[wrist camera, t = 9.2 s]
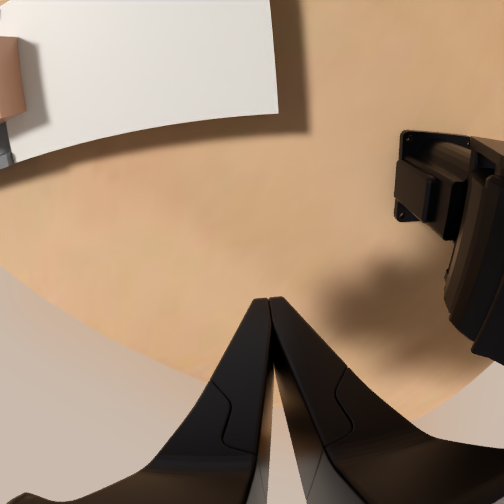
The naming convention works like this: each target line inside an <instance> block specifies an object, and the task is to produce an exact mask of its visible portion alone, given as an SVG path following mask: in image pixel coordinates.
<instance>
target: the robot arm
mask: <svg viewBox="0 0 504 504" xmlns="http://www.w3.org/2000/svg"><path fill="white" fill-rule="evenodd" d="M407 135H409V137H410V138H409V140H408V141H406V136H407ZM468 141H469V144H468V145H467V142H468ZM394 197H395V198H396V199H395V208H394V217H395V218H396V219H397V220H398V221H399V222H410V221H421V222H422V223H426V224H427V225H429V226H430V227H431V228H432V229H433V230H434V231H435V232H436V233H437V234H438V235H439V236H440V237H441V238H442V239H443V240H445V241H448V240H450V241H451V242H453V243H454V244H455V245H454V249H453V253H452V257H451V260H450V264H449V268H448V269H447V270H446V273H445V276H444V279H445V282H446V284H445V287H444V301H445V303H446V306H447V308H448V310H449V312H450V315H449V320H450V322H451V323H452V324H453V325H454V326H455V328H456V329H457V330H458V331H459V332H460V333H461V334H463V335H464V336H465V337H466V338H467V339H469V340H471V341H472V342H474V344H473V346H472V348H471V352H472V353H473V354H477V355H480V356H484V357H488V358H490V359H492V360H494V361H496V362H498V363H500V364H502V365H504V141H499V140H493V139H487V138H480V137H474V136H471V137H469V136H466V135H458V134H449V133H439V132H428V131H415V130H404V131H402V133H401V134H400V147H399V160H398V161H397V164H396V178H395V190H394ZM402 212H403V214H402V216H400V217H399V215H400V213H402ZM274 369H275V375H276V379H277V383H278V388H279V392H280V396H281V400H282V404H283V408H284V412H285V416H286V420H287V425H288V429H289V432H290V437H291V441H292V445H293V449H294V453H295V457H296V461H297V465H298V469H299V473H300V478H301V482H302V486H303V489H304V493H305V498H306V500H307V504H504V449H499V448H490V447H483V446H477V445H471V444H465V443H459V442H453V441H448V440H443V439H439V438H435V437H433V436H430V435H428V434H426V433H425V432H423V431H421V430H420V429H418V428H417V427H416V426H414V425H413V424H412V423H411V422H409V421H408V420H407V419H406V418H404V417H403V416H402V415H401V414H399V413H398V412H397V411H396V410H394V409H393V408H392V407H391V406H389V405H388V404H387V403H386V402H385V401H383V400H382V399H381V398H380V397H379V396H377V395H376V394H375V393H374V392H373V391H372V390H371V389H369V388H368V387H367V386H366V385H365V384H364V383H363V382H362V381H361V380H360V379H359V378H358V377H357V376H356V375H355V373H354V372H353V371H352V370H351V369H350V368H347V365H346V364H345V363H344V362H343V361H342V360H341V359H340V357H339V356H338V355H337V354H336V353H335V352H334V351H333V350H332V349H331V348H330V347H329V346H328V345H327V343H326V342H325V341H324V340H323V339H322V338H321V337H320V336H319V335H318V334H317V333H316V332H315V331H314V329H313V328H312V327H311V326H310V325H309V324H308V323H307V322H306V321H305V320H304V319H303V318H302V317H301V315H300V314H299V313H298V312H297V311H296V310H295V309H294V308H293V307H292V306H291V305H290V304H289V302H288V301H287V300H286V299H285V298H284V297H282V296H279V297H270V298H269V301H268V299H267V298H256V299H254V300H253V301H252V303H251V305H250V306H249V308H248V310H247V312H246V314H245V316H244V318H243V320H242V321H241V323H240V325H239V327H238V329H237V331H236V333H235V334H234V336H233V338H232V340H231V342H230V344H229V346H228V347H227V349H226V351H225V353H224V355H223V357H222V358H221V360H220V362H219V364H218V366H217V367H216V369H215V371H214V373H213V375H212V377H211V378H210V381H209V382H208V384H207V385H206V387H205V389H204V391H203V393H202V394H201V396H200V398H199V399H198V401H197V402H196V404H195V406H194V407H193V409H192V410H191V411H190V413H189V414H188V416H187V417H186V418H185V420H184V421H183V422H182V424H181V425H180V426H179V427H178V429H177V430H176V431H175V433H174V434H173V435H172V436H171V438H170V439H169V440H168V442H167V443H166V444H165V445H164V447H163V448H162V449H161V450H160V451H159V453H158V454H157V455H156V456H155V458H154V459H153V460H152V461H151V462H150V463H149V464H148V465H147V466H145V467H144V468H143V469H141V470H140V471H138V472H137V473H135V474H133V475H131V476H129V477H127V478H125V479H123V480H120V481H118V482H116V483H114V484H112V485H110V486H107V487H105V488H103V489H101V490H99V491H96V492H94V493H92V494H89V495H87V496H84V497H82V498H79V499H76V500H73V501H66V502H55V501H51V500H47V499H44V498H42V497H40V496H37V495H34V494H31V493H23V494H21V495H19V496H17V497H15V498H13V499H12V500H10V501H9V502H8V503H7V504H267V491H268V476H269V461H270V445H271V427H272V408H273V387H274Z"/></svg>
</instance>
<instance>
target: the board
mask: <svg viewBox="0 0 504 504" xmlns="http://www.w3.org/2000/svg"><path fill="white" fill-rule="evenodd" d="M0 36H9V37H17V39H18V52H19V62H20V71H21V79H22V86H23V93H24V99H25V105H26V110H27V111H25V112H23V113H21V114H19V115H17V116H15V117H13V118H11V119H9V120H7V121H6V126H7V131H8V137H9V142H10V146H11V151H12V156H13V160H14V163H17V162H20V161H23V160H26V159H29V158H32V157H35V156H39V155H42V154H45V153H48V152H52V151H55V150H58V149H62V148H66V147H69V146H73V145H77V144H80V143H84V142H88V141H92V140H96V139H101V138H105V137H109V136H114V135H118V134H123V133H128V132H133V131H138V130H143V129H149V128H154V127H160V126H166V125H172V124H179V123H186V122H193V121H200V120H208V119H217V118H226V117H237V116H248V115H262V114H279V112H278V97H277V83H276V69H275V57H274V44H273V33H272V21H271V11H270V0H10V1H8V2H7V3H5V4H3V5H2V6H0Z"/></svg>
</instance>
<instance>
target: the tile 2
mask: <svg viewBox="0 0 504 504" xmlns="http://www.w3.org/2000/svg"><path fill="white" fill-rule="evenodd" d="M25 111H27V110H26V105H25V99H24V93H23V86H22V79H21V71H20V62H19V52H18V39H17V37H9V36H0V124H1V123H3V122H5V121H7V120H9V119H11V118H13V117H15V116H17V115H19V114H21V113H23V112H25Z"/></svg>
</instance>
